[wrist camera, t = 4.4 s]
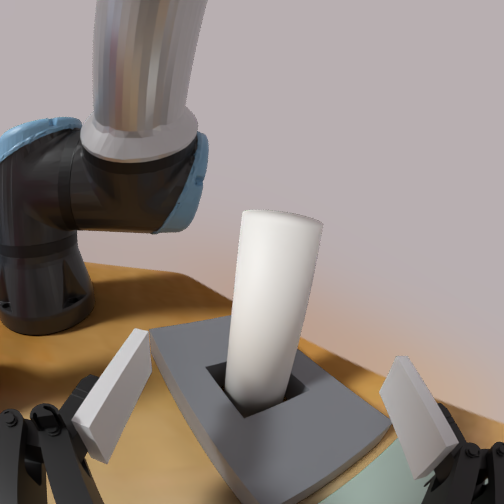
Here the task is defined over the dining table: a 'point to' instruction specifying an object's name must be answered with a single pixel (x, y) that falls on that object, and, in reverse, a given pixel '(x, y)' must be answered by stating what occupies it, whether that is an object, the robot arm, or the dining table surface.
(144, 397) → the dining table surface
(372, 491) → the pad
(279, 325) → the plug
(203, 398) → the grey holed plate
